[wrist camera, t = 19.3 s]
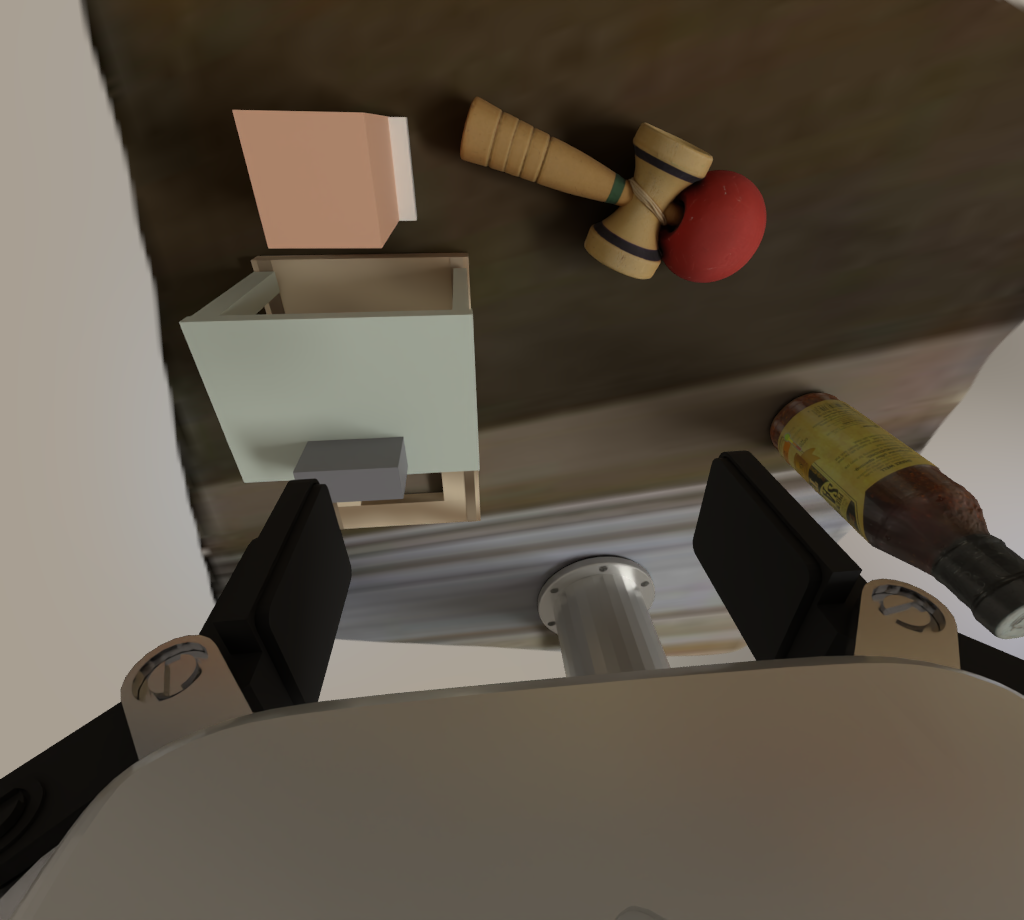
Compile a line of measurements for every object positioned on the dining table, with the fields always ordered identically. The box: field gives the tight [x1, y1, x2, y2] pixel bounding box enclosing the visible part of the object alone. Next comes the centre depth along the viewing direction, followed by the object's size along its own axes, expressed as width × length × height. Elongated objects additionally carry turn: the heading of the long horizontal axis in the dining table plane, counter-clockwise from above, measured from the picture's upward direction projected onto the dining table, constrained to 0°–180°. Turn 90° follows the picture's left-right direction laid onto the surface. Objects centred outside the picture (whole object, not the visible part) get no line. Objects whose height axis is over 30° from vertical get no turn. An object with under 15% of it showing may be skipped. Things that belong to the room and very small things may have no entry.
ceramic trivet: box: [388, 117, 417, 221], centre depth 27 cm, size 5×7×1 cm
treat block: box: [232, 110, 399, 248], centre depth 23 cm, size 5×5×8 cm
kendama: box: [460, 96, 766, 283], centre depth 27 cm, size 8×6×18 cm
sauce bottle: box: [770, 392, 1024, 639], centre depth 32 cm, size 6×6×20 cm
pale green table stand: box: [179, 268, 480, 503], centre depth 27 cm, size 9×13×12 cm
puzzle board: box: [251, 253, 481, 529], centre depth 36 cm, size 22×13×1 cm, turn 0°
